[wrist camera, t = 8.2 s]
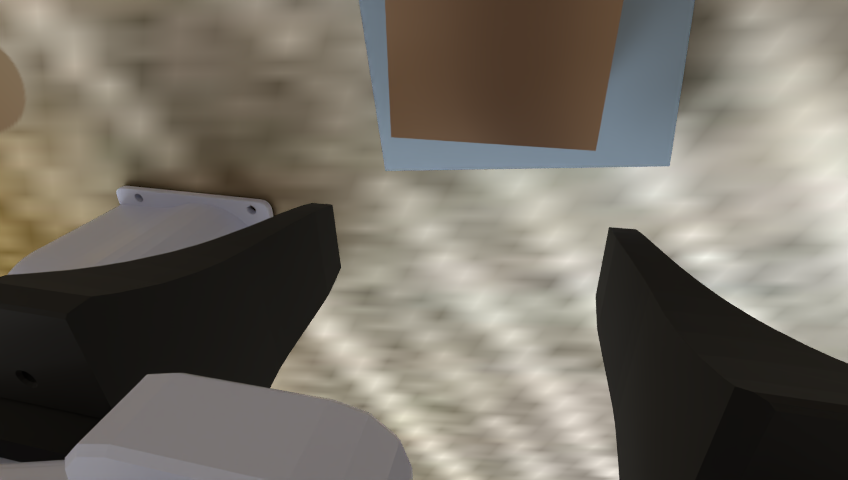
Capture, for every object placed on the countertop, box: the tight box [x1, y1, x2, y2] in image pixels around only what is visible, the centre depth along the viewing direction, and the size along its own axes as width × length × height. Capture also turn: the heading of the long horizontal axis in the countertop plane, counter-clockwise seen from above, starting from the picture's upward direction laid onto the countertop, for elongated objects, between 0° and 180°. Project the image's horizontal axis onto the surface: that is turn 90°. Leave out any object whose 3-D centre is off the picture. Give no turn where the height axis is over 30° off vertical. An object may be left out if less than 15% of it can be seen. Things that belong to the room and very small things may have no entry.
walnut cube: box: [385, 0, 624, 151], centre depth 12 cm, size 5×5×5 cm
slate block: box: [359, 0, 695, 171], centre depth 16 cm, size 10×10×4 cm
